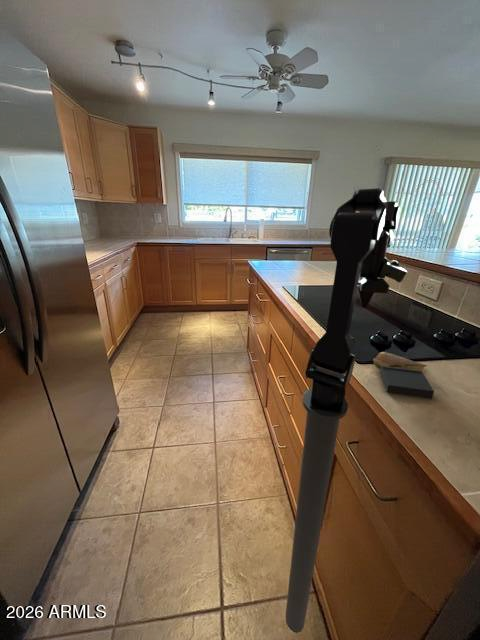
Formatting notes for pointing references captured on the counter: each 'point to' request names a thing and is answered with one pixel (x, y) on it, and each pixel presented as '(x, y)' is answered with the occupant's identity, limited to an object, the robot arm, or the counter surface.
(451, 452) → the counter surface
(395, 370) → the black pad
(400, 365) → the sandwich half
